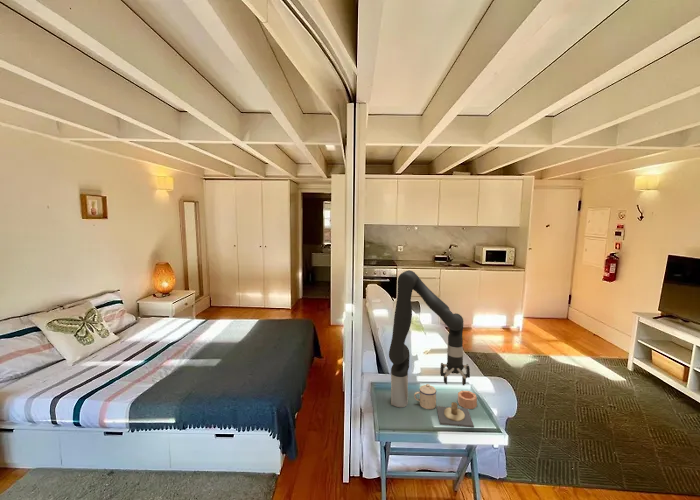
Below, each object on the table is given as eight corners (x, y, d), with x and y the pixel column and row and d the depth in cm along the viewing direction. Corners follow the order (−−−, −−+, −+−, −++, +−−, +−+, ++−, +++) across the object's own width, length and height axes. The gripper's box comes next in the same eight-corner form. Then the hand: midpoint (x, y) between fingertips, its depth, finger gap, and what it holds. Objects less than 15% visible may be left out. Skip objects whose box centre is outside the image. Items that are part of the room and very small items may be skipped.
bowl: (460, 408, 166) (460, 399, 165) (456, 398, 175) (457, 390, 174) (477, 409, 164) (478, 400, 164) (473, 399, 173) (474, 391, 173)
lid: (445, 420, 154) (445, 408, 153) (442, 408, 164) (443, 397, 163) (466, 422, 152) (466, 410, 152) (462, 410, 162) (462, 399, 162)
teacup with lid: (434, 400, 173) (434, 380, 172) (437, 410, 164) (438, 389, 163) (412, 399, 174) (413, 380, 173) (415, 409, 165) (415, 388, 164)
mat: (439, 424, 153) (440, 422, 153) (436, 407, 166) (436, 406, 166) (473, 427, 150) (473, 425, 150) (467, 410, 164) (467, 408, 164)
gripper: (441, 356, 153) (441, 387, 154) (471, 357, 151) (470, 389, 152) (439, 349, 160) (439, 379, 162) (468, 351, 158) (467, 381, 159)
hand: (454, 384), depth 157 cm, fingers open, 8 cm apart
